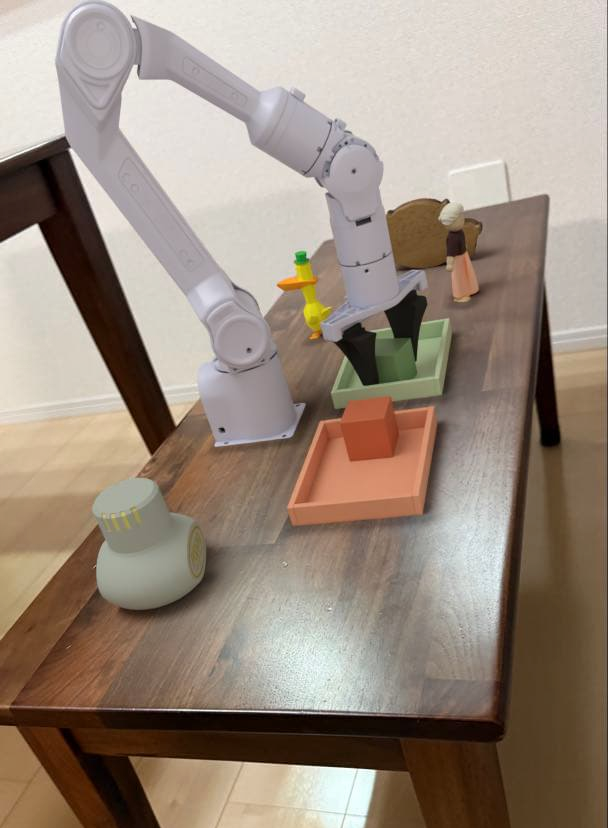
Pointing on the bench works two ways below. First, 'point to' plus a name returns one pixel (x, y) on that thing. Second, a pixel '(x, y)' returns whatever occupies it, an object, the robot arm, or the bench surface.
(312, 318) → the toy figure
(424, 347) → the sage tray
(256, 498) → the bench surface
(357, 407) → the terracotta block
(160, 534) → the air freshener
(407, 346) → the sage block
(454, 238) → the grandmother figurine
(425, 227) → the wooden carving
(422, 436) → the terracotta tray
